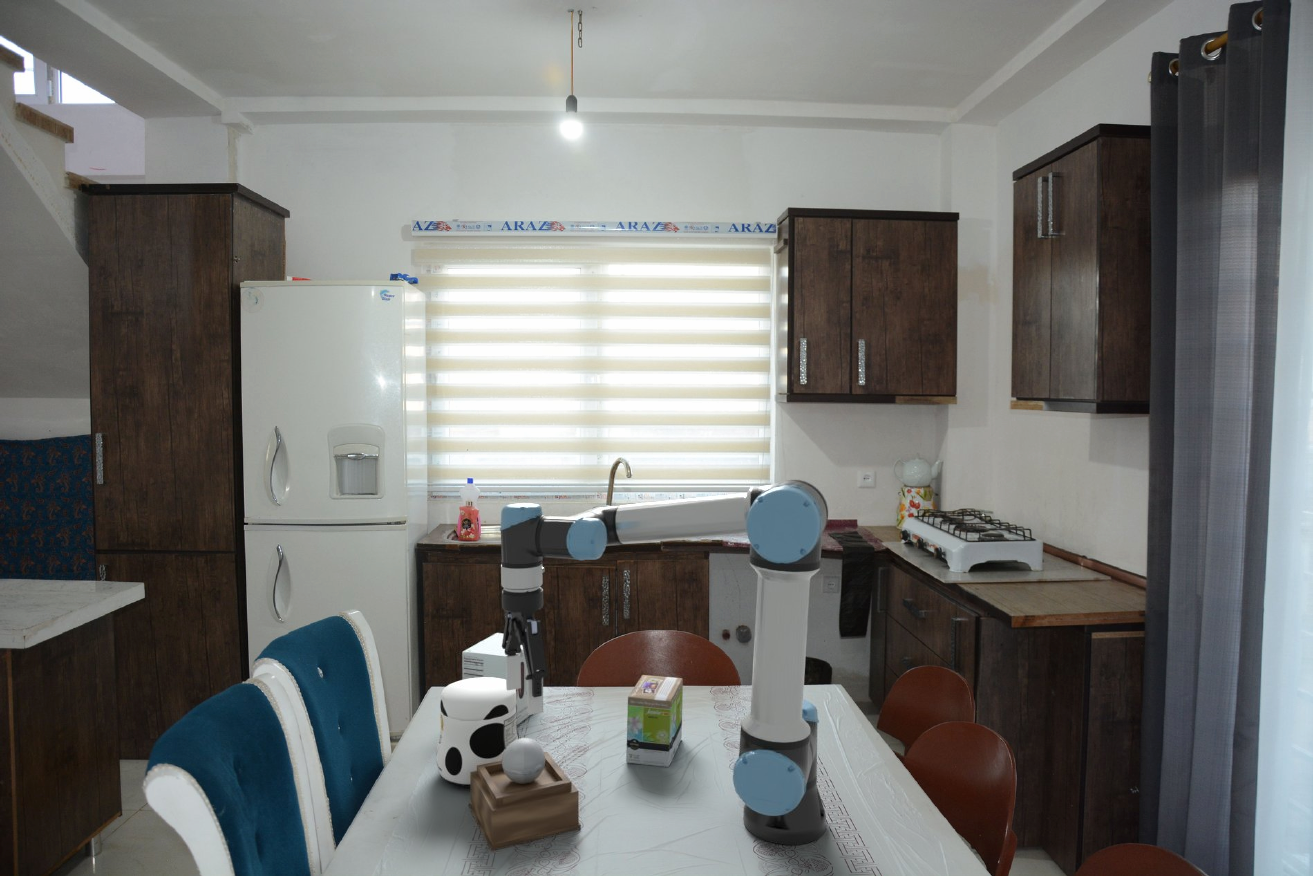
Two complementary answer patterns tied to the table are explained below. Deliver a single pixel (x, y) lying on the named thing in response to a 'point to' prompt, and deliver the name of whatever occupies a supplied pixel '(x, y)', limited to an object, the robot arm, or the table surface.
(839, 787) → the table surface
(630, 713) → the tea box
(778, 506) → the robot arm
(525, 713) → the supplement box
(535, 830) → the brown open square box
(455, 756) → the milk container
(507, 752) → the bath bomb
